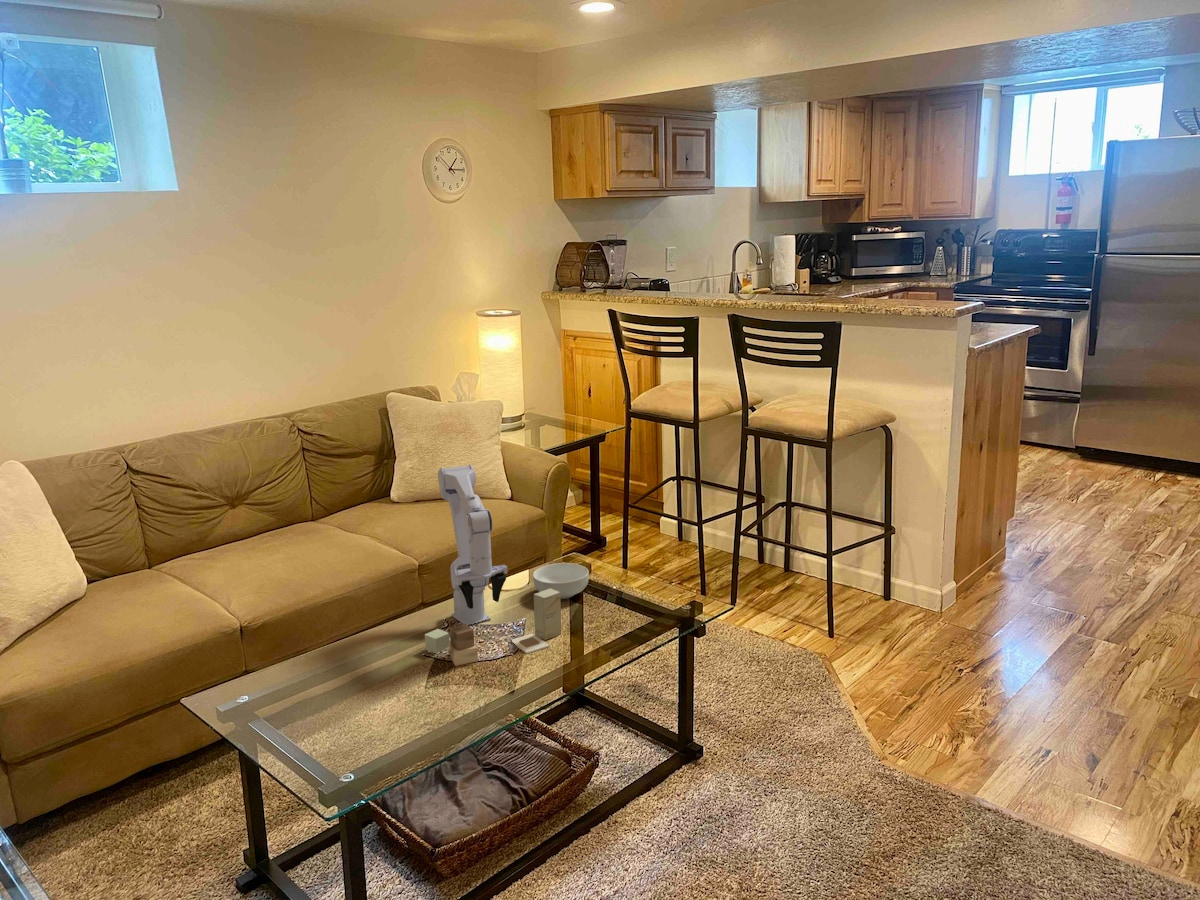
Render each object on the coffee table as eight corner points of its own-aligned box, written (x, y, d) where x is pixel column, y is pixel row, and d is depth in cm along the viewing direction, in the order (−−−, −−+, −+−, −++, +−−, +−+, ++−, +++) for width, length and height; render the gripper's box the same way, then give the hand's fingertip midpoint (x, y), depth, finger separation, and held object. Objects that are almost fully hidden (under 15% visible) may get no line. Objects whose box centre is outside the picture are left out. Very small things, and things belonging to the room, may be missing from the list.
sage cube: (425, 650, 234) (424, 634, 233) (439, 644, 237) (438, 628, 236) (436, 655, 231) (435, 639, 230) (450, 648, 234) (449, 633, 233)
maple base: (449, 656, 230) (448, 642, 229) (471, 652, 232) (471, 638, 231) (455, 666, 225) (454, 652, 224) (478, 661, 227) (477, 647, 226)
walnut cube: (450, 644, 228) (449, 628, 227) (466, 639, 230) (465, 623, 229) (458, 650, 224) (457, 634, 223) (474, 645, 227) (473, 629, 226)
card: (510, 641, 237) (509, 639, 237) (532, 634, 241) (532, 632, 241) (526, 653, 230) (526, 651, 230) (549, 646, 234) (549, 644, 234)
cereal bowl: (567, 579, 280) (566, 558, 279) (600, 594, 268) (600, 572, 266) (522, 593, 270) (521, 571, 268) (555, 610, 257) (554, 587, 256)
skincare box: (544, 640, 237) (543, 598, 235) (534, 635, 241) (532, 594, 238) (562, 633, 242) (561, 591, 239) (551, 628, 245) (550, 587, 242)
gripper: (461, 565, 226) (464, 615, 229) (511, 553, 234) (514, 602, 237) (450, 558, 232) (453, 606, 235) (499, 547, 240) (501, 594, 243)
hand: (483, 604), depth 236 cm, fingers open, 7 cm apart
